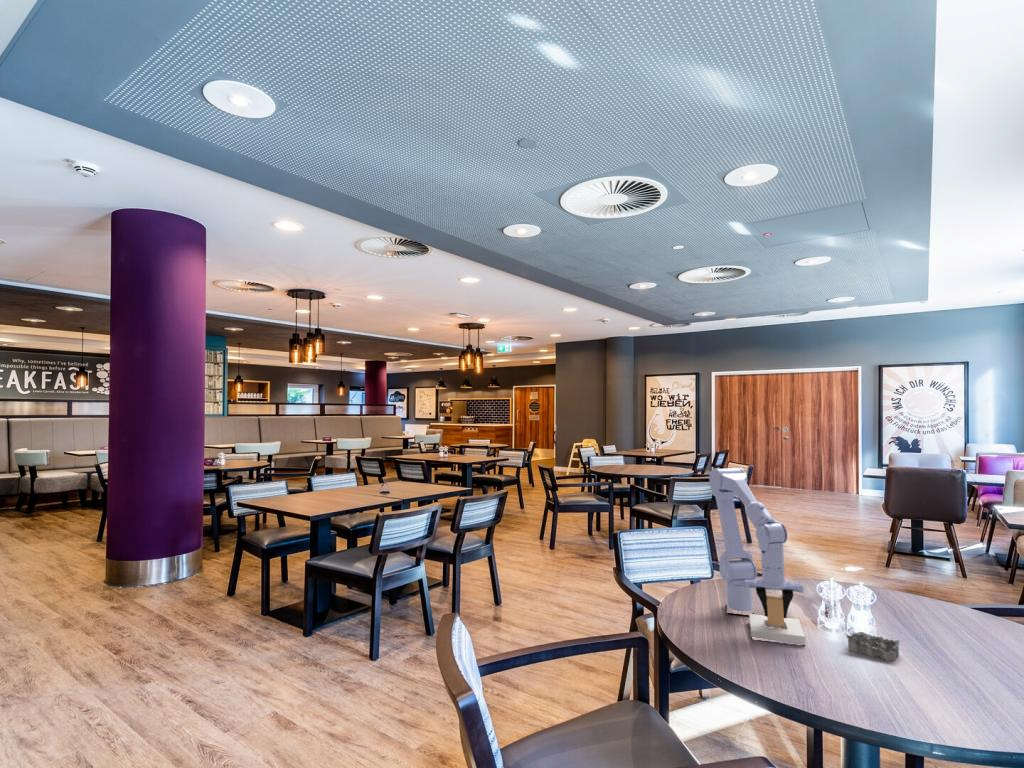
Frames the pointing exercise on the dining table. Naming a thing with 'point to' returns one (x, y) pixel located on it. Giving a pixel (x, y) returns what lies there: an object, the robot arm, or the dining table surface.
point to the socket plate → (777, 630)
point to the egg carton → (873, 645)
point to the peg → (775, 609)
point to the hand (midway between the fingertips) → (775, 616)
